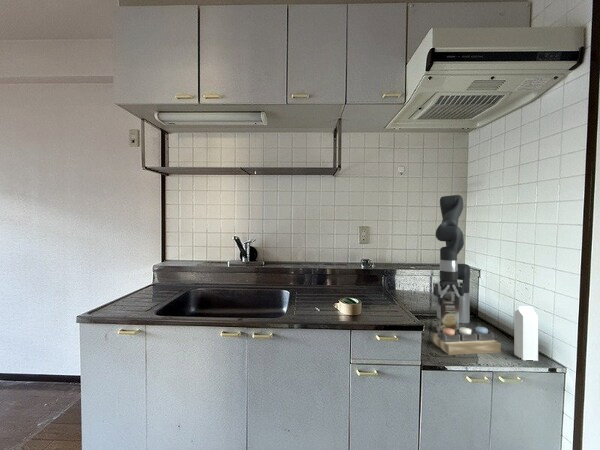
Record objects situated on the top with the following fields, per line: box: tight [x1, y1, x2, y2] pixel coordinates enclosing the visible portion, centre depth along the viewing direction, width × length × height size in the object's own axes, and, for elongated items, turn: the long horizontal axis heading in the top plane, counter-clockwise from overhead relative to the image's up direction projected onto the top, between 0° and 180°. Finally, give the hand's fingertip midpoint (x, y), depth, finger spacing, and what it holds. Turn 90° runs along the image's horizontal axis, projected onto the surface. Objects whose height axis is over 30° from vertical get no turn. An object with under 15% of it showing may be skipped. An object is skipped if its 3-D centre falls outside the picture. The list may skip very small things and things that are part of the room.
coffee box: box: [436, 299, 460, 332], centre depth 158 cm, size 9×6×16 cm
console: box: [432, 328, 502, 356], centre depth 140 cm, size 14×24×7 cm, turn 94°
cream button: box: [459, 326, 472, 335], centre depth 139 cm, size 5×5×2 cm
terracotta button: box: [443, 328, 455, 335], centre depth 139 cm, size 5×5×2 cm
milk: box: [513, 305, 539, 362], centre depth 128 cm, size 6×6×22 cm
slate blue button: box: [474, 326, 489, 334], centre depth 140 cm, size 5×5×2 cm
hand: (448, 305), depth 139 cm, fingers open, 7 cm apart
